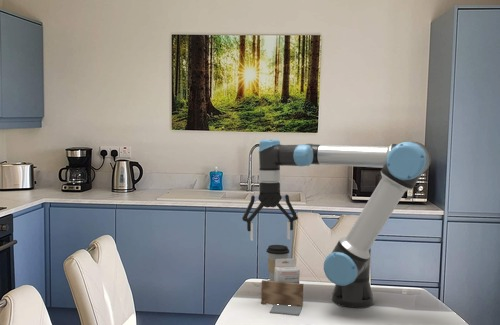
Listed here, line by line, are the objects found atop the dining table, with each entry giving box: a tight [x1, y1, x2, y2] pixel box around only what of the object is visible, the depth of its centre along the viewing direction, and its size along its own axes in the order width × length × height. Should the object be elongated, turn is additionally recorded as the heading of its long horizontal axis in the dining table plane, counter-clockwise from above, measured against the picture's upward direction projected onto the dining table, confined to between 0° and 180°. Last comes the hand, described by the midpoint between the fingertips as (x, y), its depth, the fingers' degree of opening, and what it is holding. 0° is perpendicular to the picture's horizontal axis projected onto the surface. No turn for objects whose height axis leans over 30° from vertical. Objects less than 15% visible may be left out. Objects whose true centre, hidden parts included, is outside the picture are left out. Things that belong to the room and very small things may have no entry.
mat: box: [269, 304, 303, 317], centre depth 188 cm, size 10×8×1 cm
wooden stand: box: [260, 279, 305, 308], centre depth 195 cm, size 15×4×8 cm, turn 77°
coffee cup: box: [265, 244, 290, 281], centre depth 221 cm, size 9×9×15 cm
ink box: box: [274, 258, 301, 284], centre depth 201 cm, size 8×5×15 cm, turn 102°
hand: (270, 239), depth 198 cm, fingers open, 13 cm apart
